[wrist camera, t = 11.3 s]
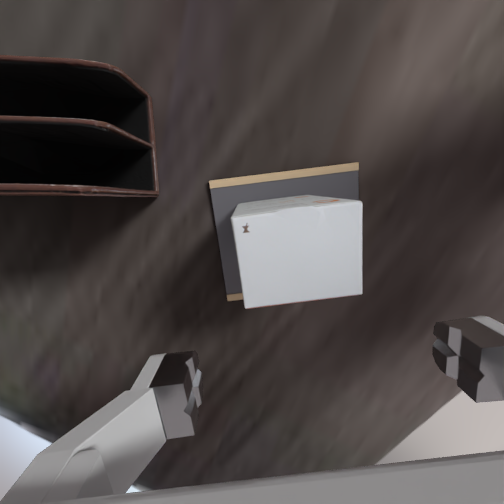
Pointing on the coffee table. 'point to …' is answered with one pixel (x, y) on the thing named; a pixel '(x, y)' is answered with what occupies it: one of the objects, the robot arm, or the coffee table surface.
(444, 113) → the coffee table surface
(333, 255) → the small box
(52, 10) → the coffee table surface
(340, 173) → the mat
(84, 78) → the letter holder
